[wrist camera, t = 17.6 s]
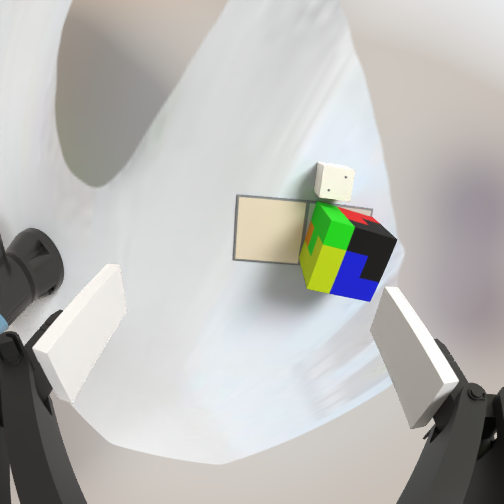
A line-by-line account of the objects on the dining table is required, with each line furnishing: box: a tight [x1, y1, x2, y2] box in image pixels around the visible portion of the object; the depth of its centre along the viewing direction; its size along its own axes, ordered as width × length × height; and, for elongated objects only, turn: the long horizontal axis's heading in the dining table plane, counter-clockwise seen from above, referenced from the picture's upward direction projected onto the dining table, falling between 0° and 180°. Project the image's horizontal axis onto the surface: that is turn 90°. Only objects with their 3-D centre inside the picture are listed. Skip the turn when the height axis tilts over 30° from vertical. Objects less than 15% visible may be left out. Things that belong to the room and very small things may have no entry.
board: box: [233, 195, 373, 265], centre depth 47 cm, size 22×11×1 cm, turn 86°
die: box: [314, 162, 355, 201], centre depth 41 cm, size 5×5×5 cm
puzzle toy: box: [299, 201, 397, 302], centre depth 42 cm, size 10×10×10 cm
